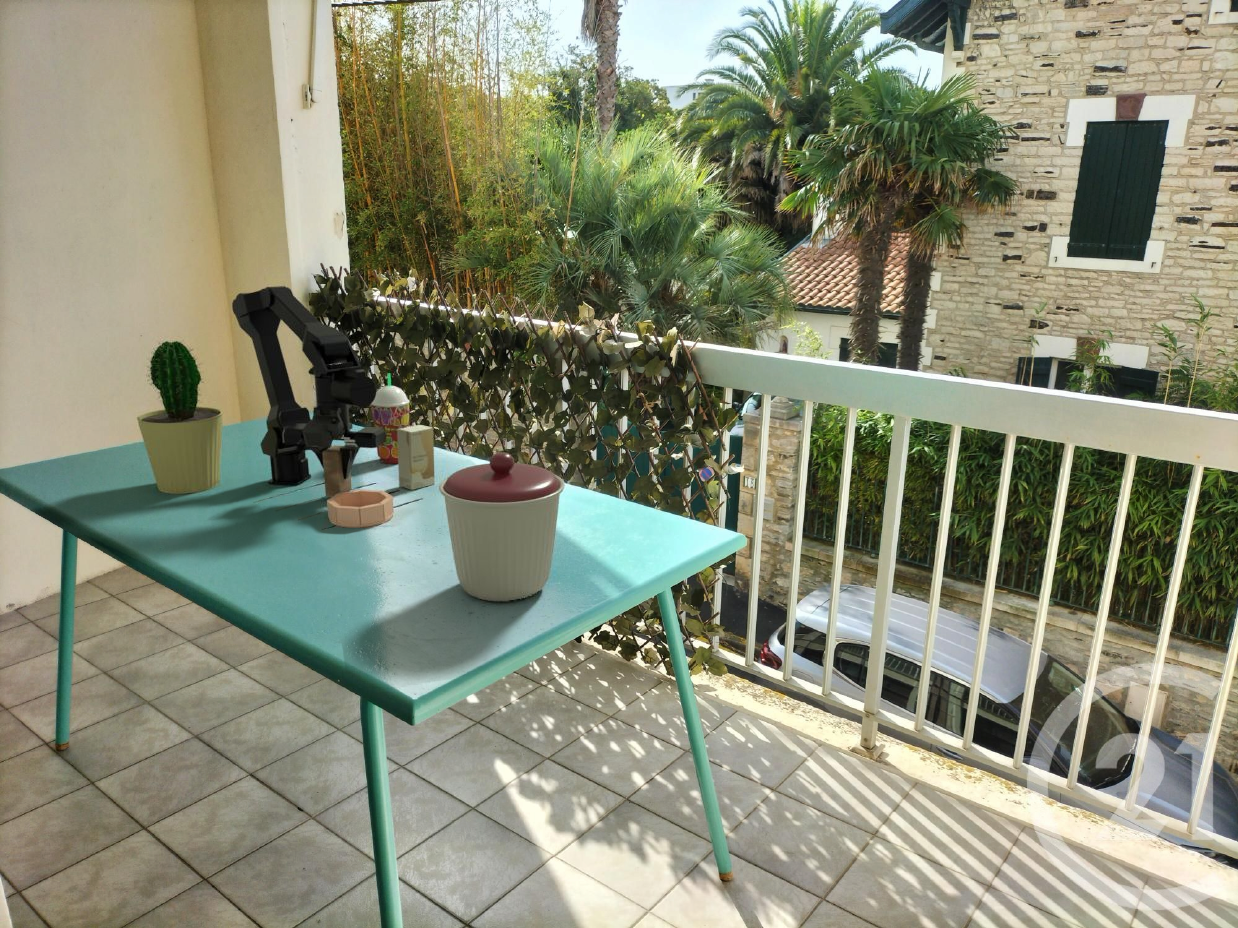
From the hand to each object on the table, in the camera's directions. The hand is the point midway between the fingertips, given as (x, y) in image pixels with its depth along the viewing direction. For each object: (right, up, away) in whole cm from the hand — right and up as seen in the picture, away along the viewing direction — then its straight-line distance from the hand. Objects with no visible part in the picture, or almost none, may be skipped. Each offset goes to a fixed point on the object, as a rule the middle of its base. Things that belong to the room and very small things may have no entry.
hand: (337, 478), depth 168 cm
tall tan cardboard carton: (0, -3, +1) cm, 3 cm away
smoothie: (+4, +3, +28) cm, 28 cm away
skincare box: (+13, -2, +10) cm, 17 cm away
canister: (+38, -16, -38) cm, 56 cm away
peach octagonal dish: (+7, -7, -10) cm, 14 cm away
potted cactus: (-33, -2, +7) cm, 33 cm away
